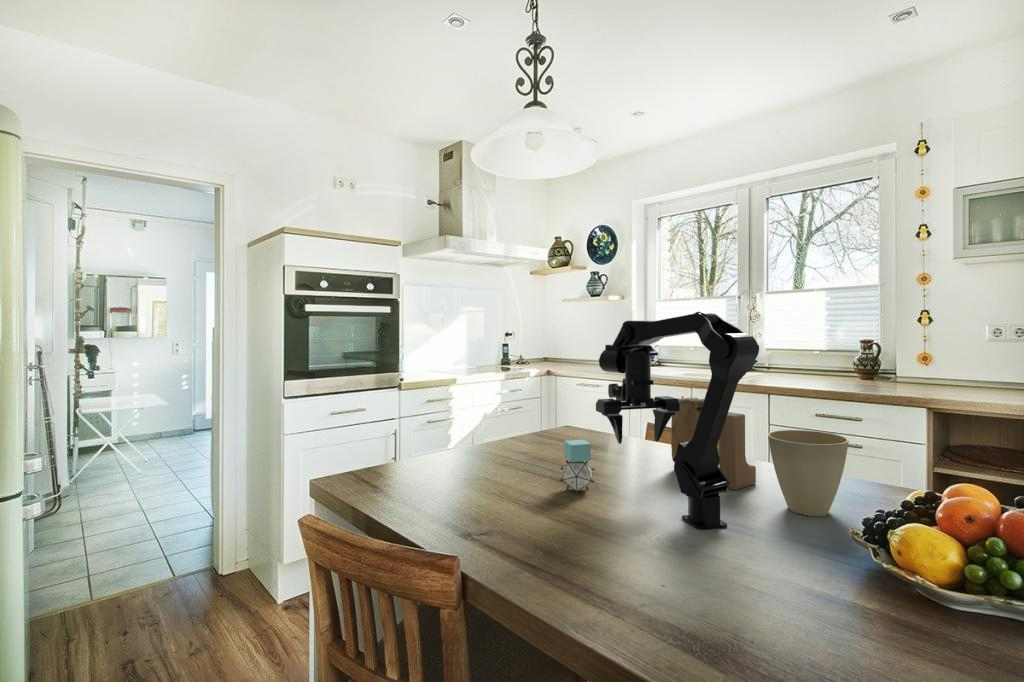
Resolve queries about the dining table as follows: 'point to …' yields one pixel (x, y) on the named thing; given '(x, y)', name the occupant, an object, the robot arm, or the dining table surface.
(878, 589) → the dining table surface
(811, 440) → the plant pot
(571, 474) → the game die
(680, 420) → the wooden upright piece
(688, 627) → the dining table surface
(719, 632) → the dining table surface
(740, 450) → the wooden block
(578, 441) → the teal block
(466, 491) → the dining table surface
